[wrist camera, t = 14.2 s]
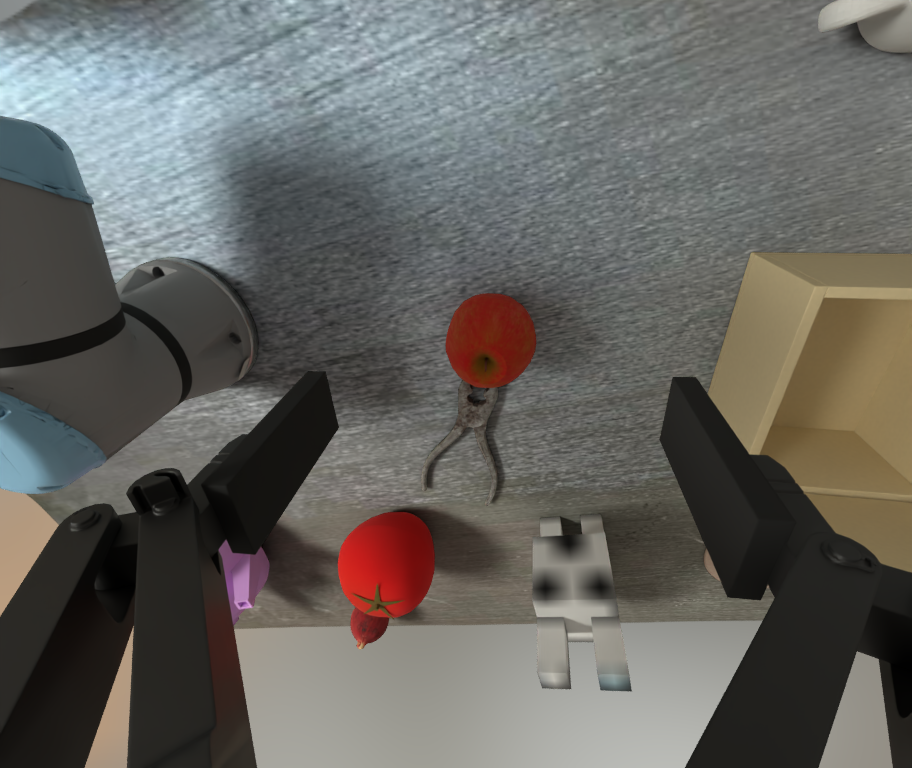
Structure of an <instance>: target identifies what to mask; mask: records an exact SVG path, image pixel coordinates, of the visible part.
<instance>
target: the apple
mask: <svg viewBox="0 0 912 768" xmlns="http://www.w3.org/2000/svg"><path fill="white" fill-rule="evenodd" d="M535 349H536V333H535V329H534V324H533V321H532V319H531V317H530V315H529V313H528V312H527V310H526V309H525V308H524V307H523V305H521V304H520V303H519V302H517V301H516V300H514V299H513V298H511V297H510V296H506V295H502V294H491V293H485V294H478V295H475V296H473V297H471V298H469V299H467V300H465V301H464V302H463V303H462V304H461V305H460V307H459V308H458V309H457V310H456V311H455V313H454V315H453V318H452V320H451V323H450V326H449V329H448V332H447V337H446V353H447V355H448V358H449V361H450V363H451V365H452V368H453V369H454V370H455V372H456V373H457V374H458V376H459V377H460V378H461V379H463V380H464V381H465V382H467V383H469V384H471V385H473V386H475V387H481V388H495V387H500V386H503V385H506V384H508V383H510V382H511V381H513V380H514V379H516V378H517V377H518V376H519V375H521V374H522V373H523V371H524V370H525V369H526V367H527V366H528V365H529V363H530V362H531V360H532V357H533V355H534V353H535Z"/></svg>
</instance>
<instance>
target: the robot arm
mask: <svg viewBox="0 0 912 768" xmlns="http://www.w3.org/2000/svg"><path fill="white" fill-rule="evenodd" d="M92 204H94V202H93V199H92V197H91V196H89V195H88V194H87V191H86V189H85V186H84V184H83V181H82V178H81V175H80V173H79V170H78V167H77V164H76V161H75V159H74V156H73V153H72V151H71V149H70V148H69V146H68V145H67V144H66V143H65V141H64V140H63V139H62V138H61V137H59V136H58V135H57V134H56V133H54V132H53V131H51V130H50V129H48V128H46V127H44V126H42V125H39V124H36V123H32V122H28V121H24V120H19V119H14V118H9V117H4V116H0V488H1V489H5V490H9V491H13V492H19V493H26V494H42V493H49V492H53V491H57V490H59V489H62V488H64V487H66V486H68V485H69V484H71V483H72V482H74V481H75V480H77V479H78V478H80V477H81V476H83V475H84V474H86V473H87V472H89V471H90V470H92V469H93V468H98V467H100V466H102V464H103V463H105V461H106V460H108V459H109V458H110V457H112V456H113V455H114V454H115V453H117V452H118V451H119V450H121V449H122V448H123V447H125V446H126V445H127V444H128V443H130V442H131V441H132V440H134V439H135V438H136V437H137V436H139V435H140V434H141V433H143V432H144V431H145V430H146V429H148V428H149V427H150V426H152V425H153V424H154V423H155V422H157V421H158V420H159V419H161V418H162V417H163V416H164V415H166V414H167V413H168V412H170V411H171V410H172V409H173V408H175V407H176V406H177V405H179V404H180V403H181V402H183V401H184V400H187V399H191V398H194V397H198V396H201V395H204V394H208V393H211V392H215V391H218V390H221V389H224V388H226V387H228V386H230V385H232V384H234V383H236V382H237V381H239V380H240V379H241V378H242V377H243V376H245V375H246V374H247V373H248V372H249V371H250V369H251V368H252V366H253V365H254V363H255V360H256V357H257V352H258V336H257V331H256V327H255V324H254V321H253V318H252V316H251V314H250V312H249V310H248V308H247V307H246V305H245V303H244V302H243V300H242V299H241V298H240V296H239V295H238V294H237V293H236V291H235V290H234V289H233V288H232V287H231V286H230V285H229V284H228V283H227V282H226V281H225V280H223V279H222V278H221V277H220V276H218V275H217V274H215V273H214V272H213V271H211V270H209V269H208V268H206V267H204V266H202V265H200V264H197V263H195V262H192V261H189V260H186V259H181V258H160V259H156V260H153V261H150V262H146V263H144V264H141V265H139V266H138V267H136V268H134V269H133V270H131V271H130V272H128V273H127V274H126V275H125V276H124V277H123V278H122V279H121V280H120V281H119V282H118V283H117V284H116V285H115V283H114V280H113V276H112V273H111V270H110V266H109V263H108V259H107V256H106V252H105V249H104V245H103V242H102V239H101V235H100V232H99V228H98V225H97V221H96V218H95V215H94V211H93V208H92ZM338 428H339V426H338V422H337V417H336V413H335V409H334V405H333V401H332V396H331V392H330V388H329V384H328V379H327V375H326V371H308V372H307V373H306V374H305V375H304V376H303V377H302V378H301V379H300V380H299V381H298V382H297V383H296V384H295V385H294V386H293V387H292V389H291V390H290V391H289V392H288V393H287V394H286V395H285V396H284V397H283V398H282V399H281V400H280V401H279V402H278V403H277V404H276V405H275V406H274V408H273V409H272V410H271V411H270V412H269V413H268V414H267V415H266V416H265V417H264V418H263V419H262V420H261V421H260V422H259V423H258V424H257V426H256V427H255V428H254V429H253V430H252V431H251V432H250V433H249V434H242V435H241V436H239V437H237V438H236V439H234V440H232V441H231V442H229V443H228V444H227V445H226V446H225V447H224V448H223V449H222V450H221V451H220V452H219V455H216V456H215V457H214V458H213V459H212V460H211V463H208V464H207V465H206V466H205V467H204V468H203V469H202V470H201V471H200V472H199V473H198V474H197V476H196V477H195V478H194V479H193V480H192V481H191V482H190V483H189V484H188V485H187V484H186V482H185V480H184V478H183V476H182V474H181V472H180V471H179V470H177V469H174V468H165V469H161V470H157V471H154V472H151V473H149V474H147V475H144V476H143V477H141V478H140V479H138V480H137V481H135V482H134V483H133V484H132V485H131V486H130V487H129V489H128V491H127V493H126V494H127V496H128V498H129V500H130V501H131V503H132V505H133V506H134V508H135V510H136V512H135V513H129V514H124V515H117V513H116V512H115V510H114V509H113V507H112V506H111V505H109V504H104V503H103V504H95V505H92V506H89V507H85V508H83V509H80V510H79V511H77V512H75V513H73V514H72V515H70V516H69V517H68V518H66V519H65V520H64V521H63V522H62V523H61V524H60V525H59V526H58V527H57V529H56V530H55V532H54V534H53V535H52V537H51V538H50V540H49V541H48V543H47V544H46V546H45V547H44V549H43V551H42V552H41V554H40V555H39V557H38V558H37V560H36V562H35V563H34V565H33V566H32V568H31V570H30V571H29V572H28V574H27V576H26V577H25V579H24V580H23V582H22V583H21V585H20V587H19V588H18V590H17V591H16V593H15V595H14V596H13V598H12V599H11V601H10V602H9V604H8V605H7V607H6V608H5V610H4V612H3V613H2V615H1V617H0V768H84V767H85V764H86V761H87V759H88V756H89V753H90V750H91V747H92V744H93V741H94V738H95V735H96V733H97V729H98V727H99V724H100V721H101V718H102V715H103V712H104V709H105V707H106V704H107V700H108V698H109V695H110V692H111V689H112V686H113V683H114V681H115V678H116V675H117V672H118V669H119V666H120V663H121V660H122V657H123V654H124V651H125V648H126V646H127V643H128V640H129V637H130V634H131V631H132V628H133V626H134V636H133V654H132V675H131V696H130V717H129V737H128V757H127V768H257V765H256V759H255V753H254V747H253V741H252V735H251V729H250V723H249V717H248V711H247V705H246V699H245V693H244V687H243V681H242V676H241V669H240V664H239V657H238V652H237V645H236V639H235V633H234V627H233V621H232V615H231V609H230V603H229V596H228V590H227V584H226V578H225V572H224V566H223V560H222V556H221V554H220V552H219V548H220V547H221V546H222V544H223V543H224V542H225V540H227V542H228V544H229V547H230V549H231V551H232V553H239V554H250V555H256V553H257V552H258V550H259V549H260V547H261V546H262V544H263V543H264V541H265V540H266V538H267V537H268V535H269V533H270V532H271V530H272V529H273V527H274V526H275V524H276V523H277V521H278V520H279V518H280V517H281V515H282V514H283V512H284V511H285V509H286V508H287V506H288V504H289V503H290V501H291V500H292V498H293V497H294V495H295V494H296V492H297V491H298V489H299V488H300V486H301V485H302V483H303V482H304V480H305V479H306V477H307V475H308V474H309V472H310V471H311V469H312V468H313V466H314V465H315V463H316V462H317V460H318V459H319V457H320V456H321V454H322V453H323V451H324V450H325V448H326V446H327V445H328V443H329V442H330V440H331V439H332V437H333V436H334V434H335V433H336V431H337V430H338ZM660 442H661V444H662V446H663V449H664V451H665V453H666V456H667V458H668V460H669V463H670V465H671V467H672V470H673V472H674V474H675V477H676V479H677V481H678V483H679V486H680V488H681V490H682V493H683V495H684V497H685V500H686V502H687V504H688V507H689V509H690V511H691V514H692V516H693V518H694V521H695V523H696V525H697V527H698V530H699V532H700V534H701V537H702V539H703V541H704V544H705V546H706V548H707V551H708V553H709V555H710V558H711V560H712V562H713V565H714V567H715V569H716V572H717V574H718V576H719V578H720V581H721V583H722V585H723V588H724V590H725V592H726V595H727V597H730V598H741V599H752V600H761V599H762V596H763V594H764V592H765V590H766V588H767V586H769V588H770V590H771V591H772V593H773V595H774V597H775V599H774V601H773V603H772V604H771V606H770V608H769V610H768V612H767V614H766V616H765V618H764V620H763V621H762V623H761V625H760V627H759V629H758V631H757V633H756V635H755V637H754V639H753V640H752V642H751V644H750V646H749V648H748V650H747V652H746V653H745V655H744V657H743V660H742V661H741V663H740V665H739V667H738V669H737V670H736V672H735V674H734V676H733V678H732V680H731V682H730V684H729V686H728V688H727V690H726V692H725V693H724V695H723V697H722V699H721V701H720V703H719V705H718V706H717V708H716V710H715V712H714V714H713V716H712V718H711V719H710V721H709V723H708V725H707V727H706V729H705V731H704V733H703V735H702V736H701V739H700V740H699V742H698V744H697V746H696V748H695V750H694V752H693V753H692V755H691V757H690V759H689V761H688V763H687V765H686V767H685V768H818V767H819V764H820V761H821V758H822V755H823V752H824V749H825V746H826V743H827V740H828V737H829V734H830V731H831V728H832V725H833V722H834V719H835V716H836V713H837V710H838V707H839V703H840V701H841V698H842V695H843V692H844V689H845V686H846V682H847V679H848V676H849V673H850V670H851V667H852V664H853V661H854V658H855V655H856V652H857V651H858V652H861V653H864V654H867V655H869V656H872V657H875V658H878V659H879V665H880V672H881V680H882V687H883V695H884V703H885V711H886V718H887V725H888V733H889V741H890V748H891V756H892V764H893V768H912V572H908V571H905V570H901V569H898V568H894V567H891V566H887V565H884V564H881V563H880V562H879V560H878V559H877V557H876V556H875V555H874V554H873V553H872V552H871V551H869V550H868V549H867V548H866V547H865V546H863V545H862V544H860V543H858V542H856V541H854V540H853V539H851V538H848V537H845V536H843V535H840V534H837V533H835V531H834V530H833V529H832V528H831V526H830V525H829V524H828V522H827V521H826V520H825V518H824V517H823V516H822V515H821V513H820V512H819V511H818V509H817V508H816V507H815V506H814V504H813V503H812V502H811V500H810V499H809V498H808V497H807V495H806V494H804V491H803V490H802V489H801V488H800V486H799V485H798V484H797V483H795V480H794V478H793V477H792V476H791V475H790V473H789V472H788V471H787V469H786V468H785V467H784V466H782V465H781V464H780V463H778V462H777V461H775V460H774V459H773V458H771V457H770V456H768V455H753V454H749V453H748V451H747V450H746V448H745V447H744V446H743V444H742V443H741V441H740V440H739V438H738V437H737V436H736V434H735V433H734V431H733V430H732V428H731V427H730V425H729V424H728V423H727V421H726V420H725V418H724V417H723V415H722V414H721V413H720V411H719V410H718V408H717V407H716V405H715V404H714V402H713V401H712V400H711V398H710V397H709V395H708V394H707V392H706V391H705V390H704V388H703V387H702V385H701V384H700V382H699V381H698V379H697V378H696V377H673V379H672V384H671V388H670V393H669V398H668V402H667V407H666V412H665V416H664V421H663V426H662V431H661V435H660Z"/></svg>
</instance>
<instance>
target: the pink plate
mask: <svg viewBox="0 0 912 768" xmlns="http://www.w3.org/2000/svg"><path fill="white" fill-rule="evenodd" d="M704 564H705V567H706V569H707V571H708V572H709V573H710V574H711V575H712V576H713V577H714V578H716V579H717V580H719V581H720V578H719V576H718V574H717V572H716V569H715V567H714V565H713V562H712V560H711V558H710V555H709V553H708V551H707V548H706V550H705V553H704ZM720 582H721V581H720ZM767 588H769V586H767Z"/></svg>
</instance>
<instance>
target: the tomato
mask: <svg viewBox="0 0 912 768" xmlns="http://www.w3.org/2000/svg"><path fill="white" fill-rule="evenodd" d="M434 568H435V553H434V545H433V540H432V537H431V534H430V531H429V529H428V527H427V526H426V524H425V523H424V522H423V521H422V520H421V519H419V518H418V517H417V516H415V515H413V514H411V513H406V512H388V513H383V514H380V515H378V516H375V517H372V518H370V519H369V520H367V521H365V522H364V523H362V524H360V525H359V526H358V527H357V528H355V529H354V530H353V531H352V532H351V533H350V534H349V535H348V537H347V538H346V540H345V541H344V543H343V544H342V546H341V550H340V554H339V560H338V572H339V578H340V582H341V586H342V589H343V592H344V594H345V595H346V597H347V598H348V599H349V600H350V602H351V603H352V604H353V605H354V606H355V607H356V608H358V609H359V610H360V611H362V612H364V614H368V615H371V616H377V617H388V618H392V619H394V618H393V617H399V616H402V615H405V614H407V613H409V612H411V611H412V610H413V609H414V608H415V607H416V606H418V605H419V604H420V603H421V601H422V600H423V598H424V597H425V596H426V594H427V592H428V590H429V588H430V585H431V582H432V578H433V574H434ZM364 614H363V615H364Z"/></svg>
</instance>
